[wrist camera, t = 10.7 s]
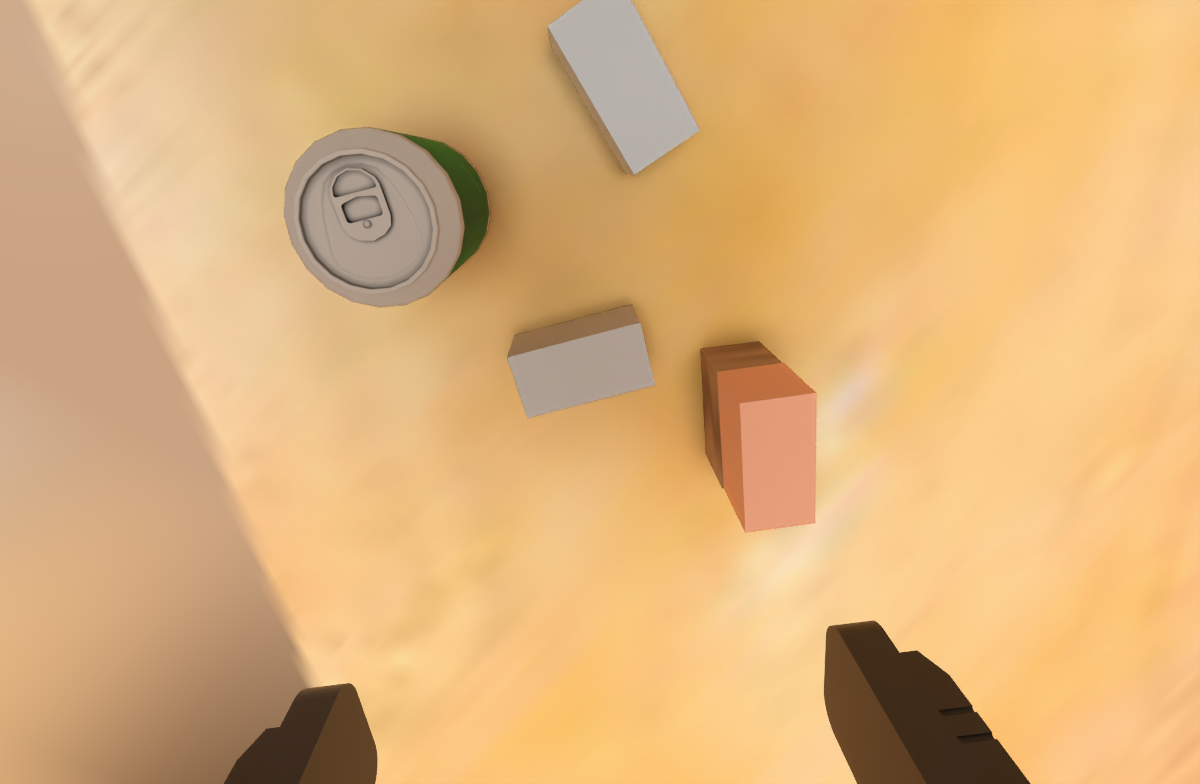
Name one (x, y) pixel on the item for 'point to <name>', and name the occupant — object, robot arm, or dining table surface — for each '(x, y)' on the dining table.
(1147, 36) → the dining table surface
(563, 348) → the slate brick
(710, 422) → the walnut brick
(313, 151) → the soda can
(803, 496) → the terracotta brick
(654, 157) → the blue-grey brick
